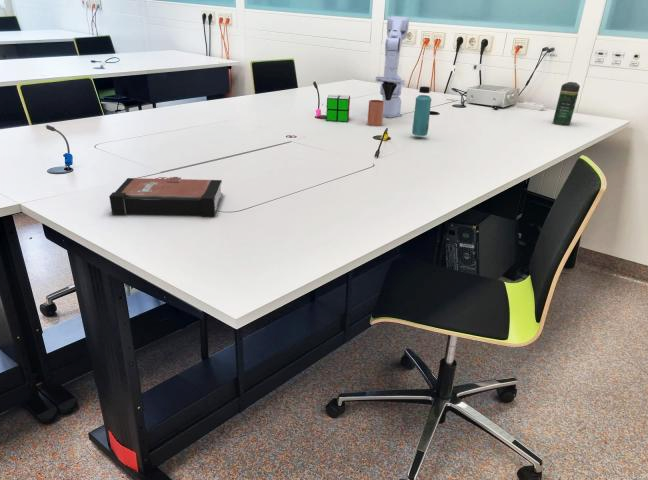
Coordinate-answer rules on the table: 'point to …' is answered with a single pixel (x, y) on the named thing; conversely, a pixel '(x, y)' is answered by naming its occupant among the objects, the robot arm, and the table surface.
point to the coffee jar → (566, 103)
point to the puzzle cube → (338, 108)
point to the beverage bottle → (422, 113)
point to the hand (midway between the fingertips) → (388, 100)
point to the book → (167, 197)
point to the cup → (375, 112)
